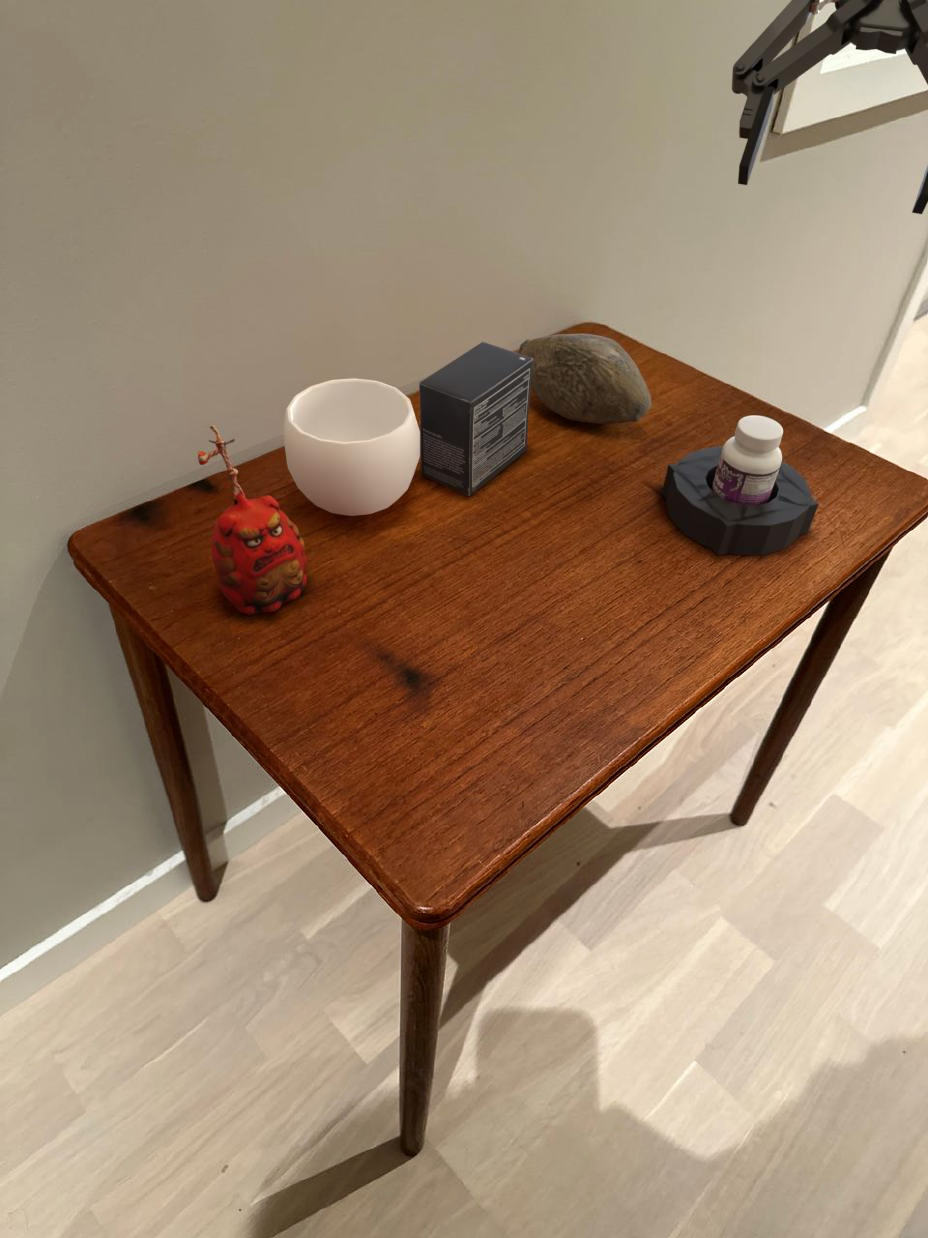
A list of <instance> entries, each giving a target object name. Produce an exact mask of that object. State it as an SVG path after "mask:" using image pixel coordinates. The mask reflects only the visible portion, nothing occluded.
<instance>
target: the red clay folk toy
mask: <svg viewBox="0 0 928 1238" xmlns="http://www.w3.org/2000/svg"><path fill="white" fill-rule="evenodd" d="M209 429H210V430H212V432H213V433H214V434H215V436H216V438H215V440H212V439H209V440H208V442H209V443H212V444H215V447H216V449H215V450H211V451H208V452H205V451H203V450H199V451H197V460H198V461H197V462H198V464H199V465H200V466H204V465H206V464H208V463H209V461H210V459H212V458H213V457H216V456H218V455H219V454H220V455H221V457H222V459H223V461H224V463H225V466H226V468H227V470H228V477H229V479H230V481H231V482H232V494H233V500H232V503H231V504H230V505H229V506H228V507H227V508H226V509H225V510H224V511H223V512H222V513H221V514H220V516H219V517H218V518H217V520H216V521H215V524H214V527H213V534H212V535H213V536H212V541H211V555H212V556H211V557H212V562H213V565H214V568H215V572H216V576H217V581H218V586H219V588H220V591H221V593H222V595H223V596H224V598H225V599H227V601H228V602H229V603H231V604H232V606H233V607H234V608H235V609H236V610H237V611H239V612H240V613H242V614H245V615H249V616H251V615H255V614H257V613H273V612H276V611H277V610H279V609H280V608H281V607H282V605H283V604H286V602H294V601H295V600H296V599H298V598H299V597H300V596H301V593H302V592H303V591H304V590H305V589H306V588H307V585H308V577H307V574H306V571H307V564H308V560H307V555H306V554H307V553H305V550H306V544H305V541H304V539H303V538H302V536H301V535H300V531H299V529H298V526H297V525H296V524H295V523H294V522H293V521H291V520H290V518H289V517H288V515H286V513H285V512H283V510H281V509H280V504H279V502H278V501H277V500H276V499H275V498H273V497H272V496H271V495H268V494H267V495H262V496H260V497H258V498H257V497H256V498H249V499H247V498H246V495H245V493H244V490H243V489H242V488H241V486H240V484H239V482H238V481H237V476H238V473H239V470H237V468H234V467H233V465H232V463H231V460H230V455H229V452H228V449H227V446H226V445H229V444H231V443H234V442H235V441H236V439H235V438H232V439H230V440H228V441H223V440H222V437H221V435H220V432H219V430H218V429H217V427H216V426H215V425H209Z"/></svg>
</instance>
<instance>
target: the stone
mask: <svg viewBox="0 0 928 1238" xmlns="http://www.w3.org/2000/svg"><path fill="white" fill-rule="evenodd" d="M518 352H519V354H521V355H524V356H527V357H530V358H533V363H532V376H531V389H532V390H533V393H534V395H535V397H536V398H537V399H538V400H539V401H540V402H541V403H542V404H543V405H544V406H545V407H547V408H548V409H549V410H550V411H552V412H553V413H556V414H558V415H559V416H561V417H562V418H565V419H567V420H570V421H573V422H580V423H581V422H583V423H588V424H607V425H608V424H621V423H633V422H637V421H639V420H640V419H642V418H644V417H645V416H646V415H647V414H648V413H649V411H650V409H651V404H652V397H651V396H652V395H651V393H650V391H649V388H648V385H647V383H646V381H645V379H644V378H643V376H642V374H641V371H640V370H639V368H638V366H637V364H636V363H635V362H634V360H633V359H632V357H631V355H629V353H628V352H627V351H626V350H625V349H624V348H623V347H622V346H621V344H619V342H617V341H616V340H614V339H612V338H609V337H606V336H602V335H597V334H592V333H591V334H590V333H567V334H566V333H556V334H552V335H545V336H540V337H537V338H532V339H529V338H527V339H525V340H524V341H523V342H522V343H521V344H520V346H519V348H518Z"/></svg>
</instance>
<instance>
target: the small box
mask: <svg viewBox="0 0 928 1238" xmlns="http://www.w3.org/2000/svg"><path fill="white" fill-rule="evenodd" d="M532 363H533V358H530V357H527V356H524V355H521V354H520V353H518V352H515V351H512V350H509V349H507V348H503V347H500V346H497V345H494V344H491V343H489V342H485V341H481V342H480V343H478V344H477V345H475V346H474V347H472V348H470V350H468V351H466V352H465V353H462V355H460V356H458V357H457V358H455V359H454V360H452V361H451V362H449V363H447V364H446V365H444V366H443V367H441V368H439V369H438V370H437V371H435V372H434V373H432V374H430V375H429V376H427V377H426V378H423V379H422V380H421V381H419V382H418V384H419V385H418V386H419V431H420V475H421V476H422V477H424V478H426V479H429V480H431V481H433V482H435V483H437V484H439V485H442V486H444V487H446V488H448V489H451V490H453V491H455V492H457V493H460V494H462V495H464V496H465V497H471V496H472V495H473V494H475V493H476V492H477V491H479V490H480V489H481V488H482V487H483V486H485V485H486V484H488V482H490V481H491V480H492V479H494V478H495V477H496V476H497V475H498V474H500V473H501V472H502V471H504V470H505V469H506V468H507V467H508V466H509V465H511V464H512V463H513V462H515V460H517V459H518V458H520V457H521V456H522V455H523V454H524V453H525V452H527V450H528V431H529V429H528V427H529V414H530V402H531V389H532V386H531V376H532Z"/></svg>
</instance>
